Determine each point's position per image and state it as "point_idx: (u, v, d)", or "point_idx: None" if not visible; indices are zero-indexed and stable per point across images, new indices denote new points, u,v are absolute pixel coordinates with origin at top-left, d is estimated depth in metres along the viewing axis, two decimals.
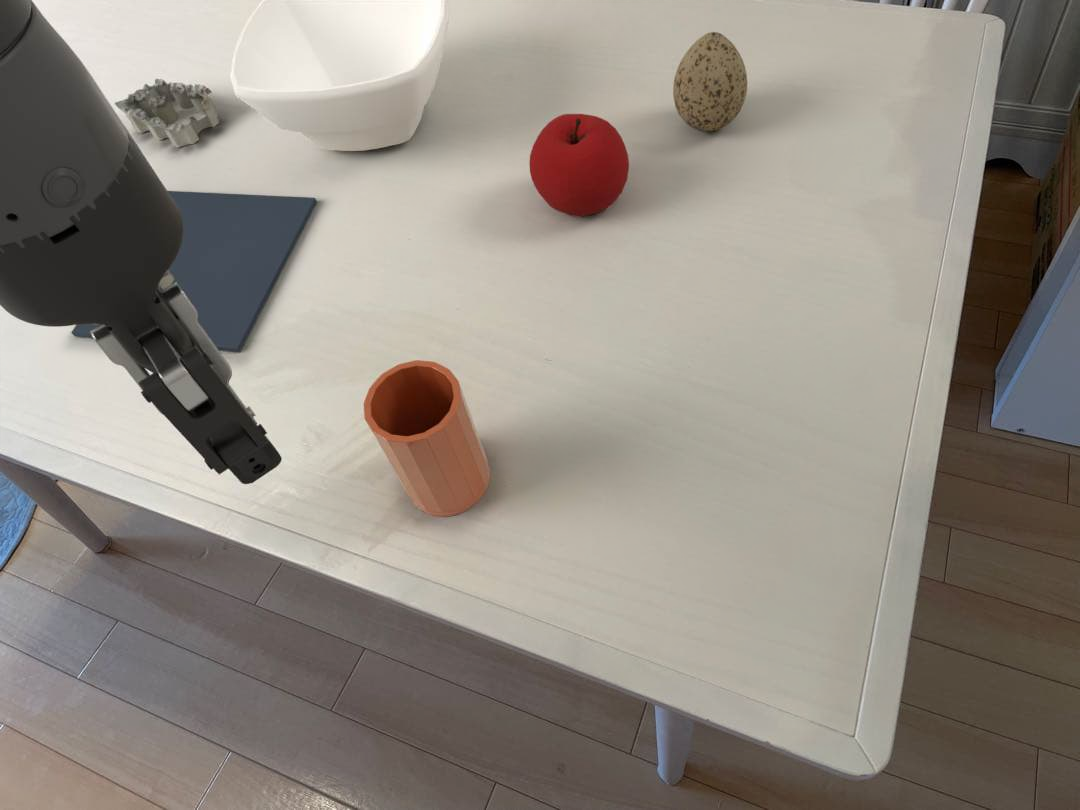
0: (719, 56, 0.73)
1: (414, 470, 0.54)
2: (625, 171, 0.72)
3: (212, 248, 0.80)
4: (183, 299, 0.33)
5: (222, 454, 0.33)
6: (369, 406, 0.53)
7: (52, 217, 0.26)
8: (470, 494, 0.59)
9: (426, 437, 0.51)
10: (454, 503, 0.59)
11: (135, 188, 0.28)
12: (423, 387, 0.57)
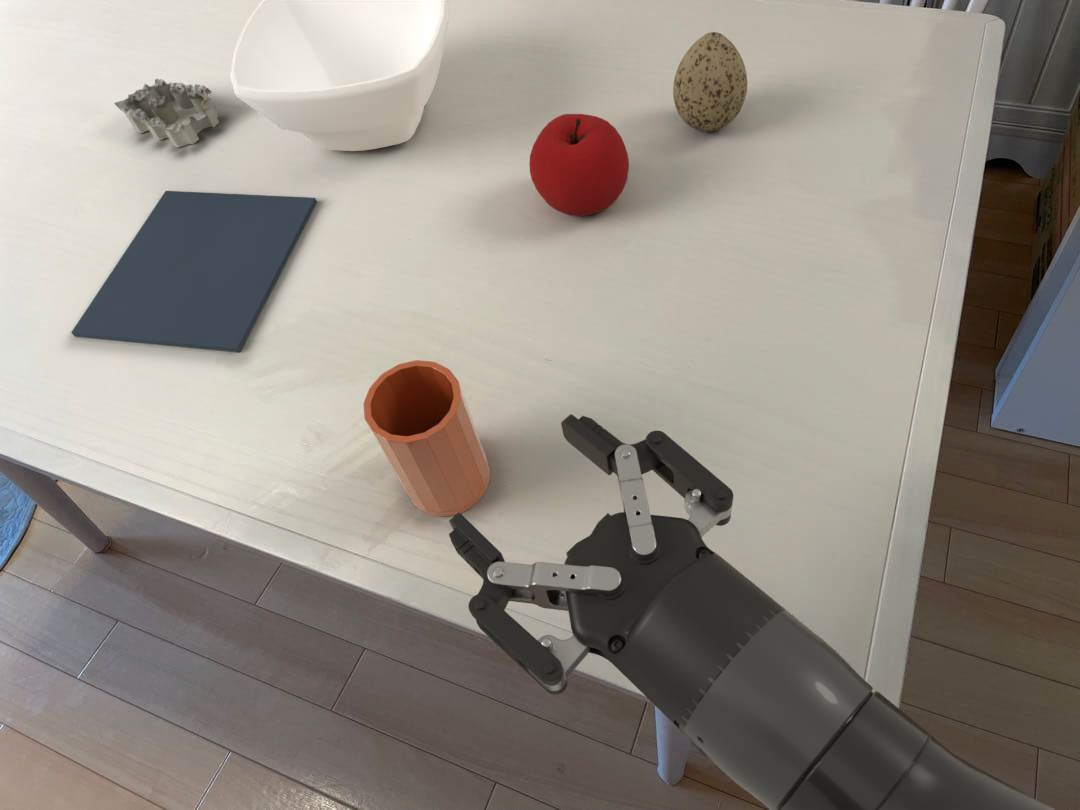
0: (719, 56, 0.73)
1: (414, 470, 0.54)
2: (625, 171, 0.72)
3: (212, 248, 0.80)
4: None
5: None
6: (369, 406, 0.53)
7: (688, 737, 0.36)
8: (470, 494, 0.59)
9: (426, 437, 0.51)
10: (454, 503, 0.59)
11: None
12: (423, 387, 0.57)
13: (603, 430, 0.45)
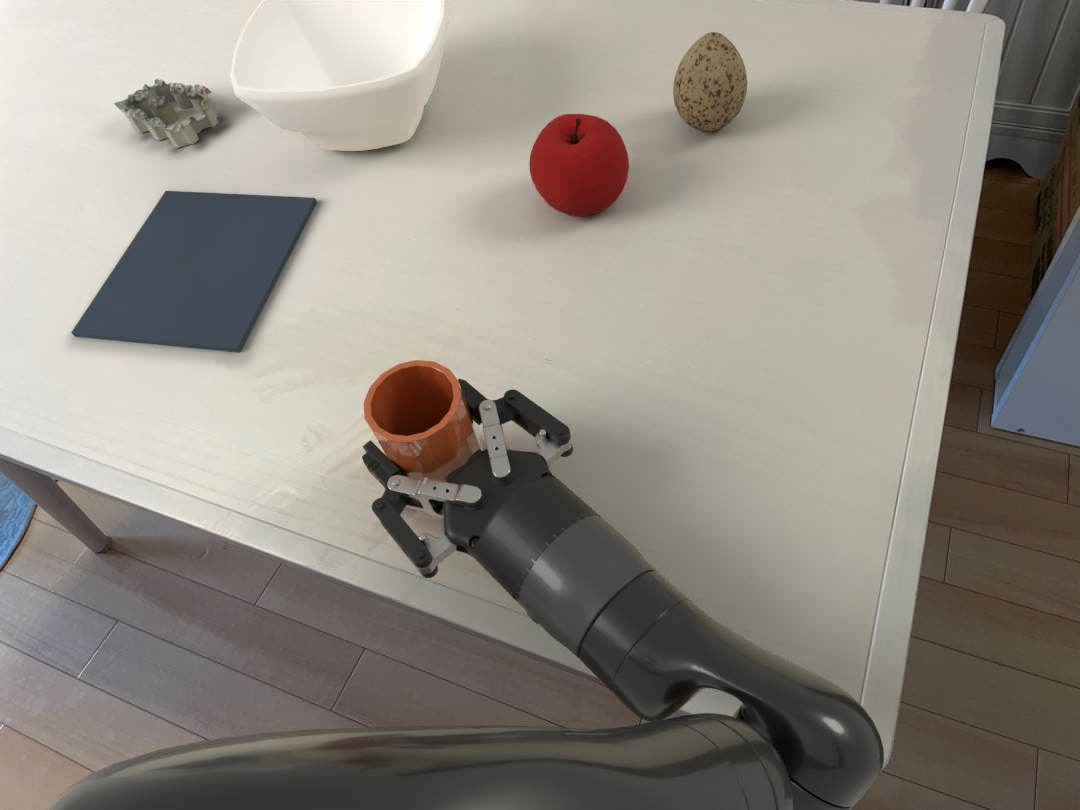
0: (719, 56, 0.73)
1: (414, 470, 0.54)
2: (625, 171, 0.72)
3: (212, 248, 0.80)
4: None
5: None
6: (369, 406, 0.53)
7: (523, 607, 0.49)
8: None
9: (426, 437, 0.51)
10: None
11: None
12: (423, 387, 0.57)
13: (473, 389, 0.57)
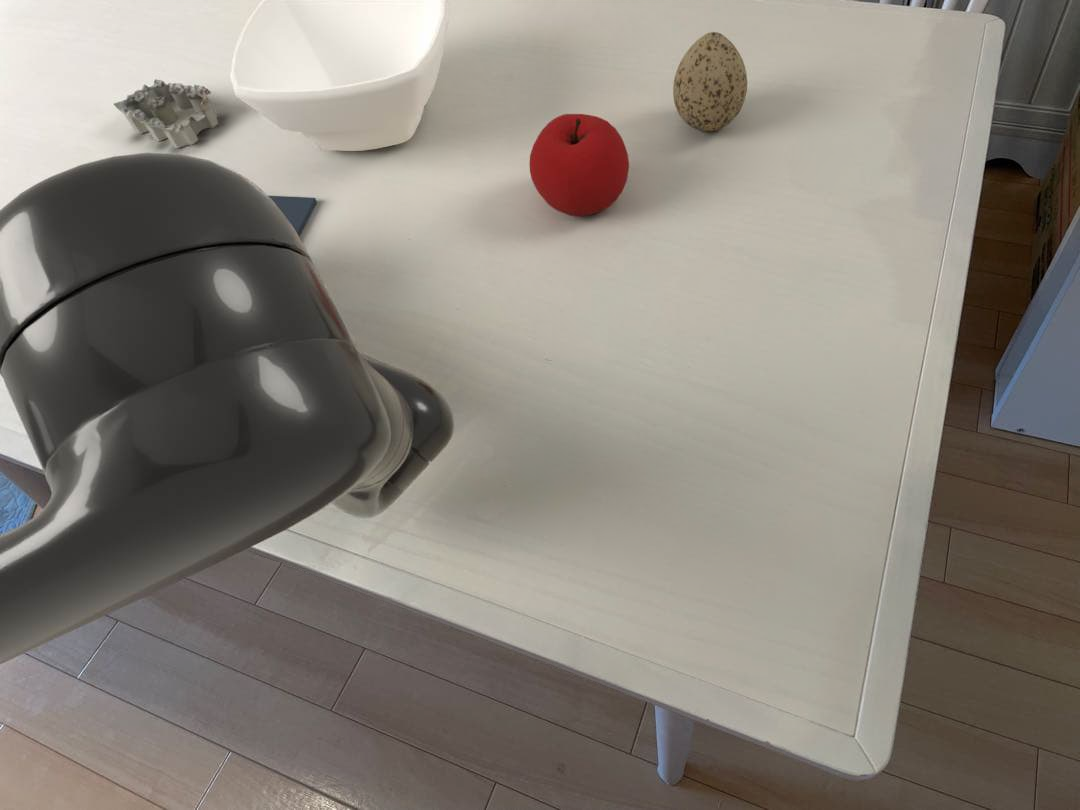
0: (719, 56, 0.73)
1: None
2: (625, 171, 0.72)
3: None
4: None
5: None
6: None
7: None
8: None
9: None
10: None
11: None
12: None
13: None
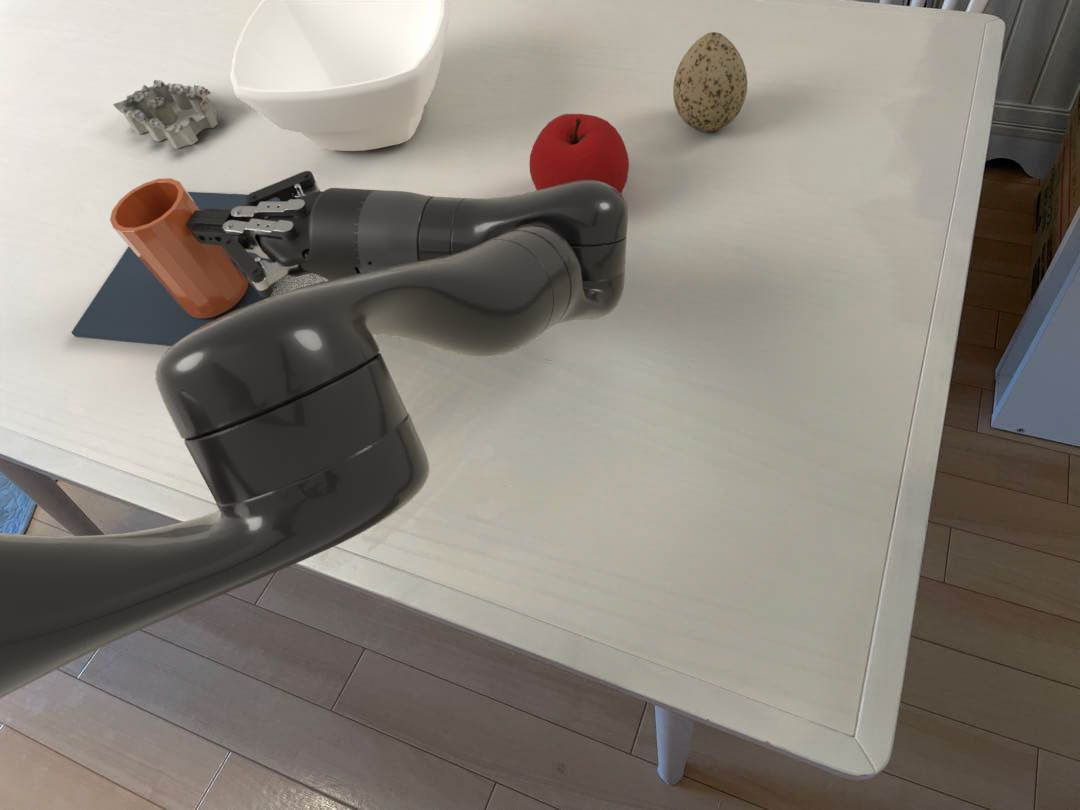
0: (719, 56, 0.73)
1: (156, 264, 0.68)
2: (625, 171, 0.72)
3: None
4: None
5: None
6: (115, 211, 0.67)
7: (366, 272, 0.62)
8: (221, 295, 0.72)
9: (150, 227, 0.65)
10: (207, 302, 0.72)
11: None
12: (172, 205, 0.71)
13: (219, 210, 0.68)
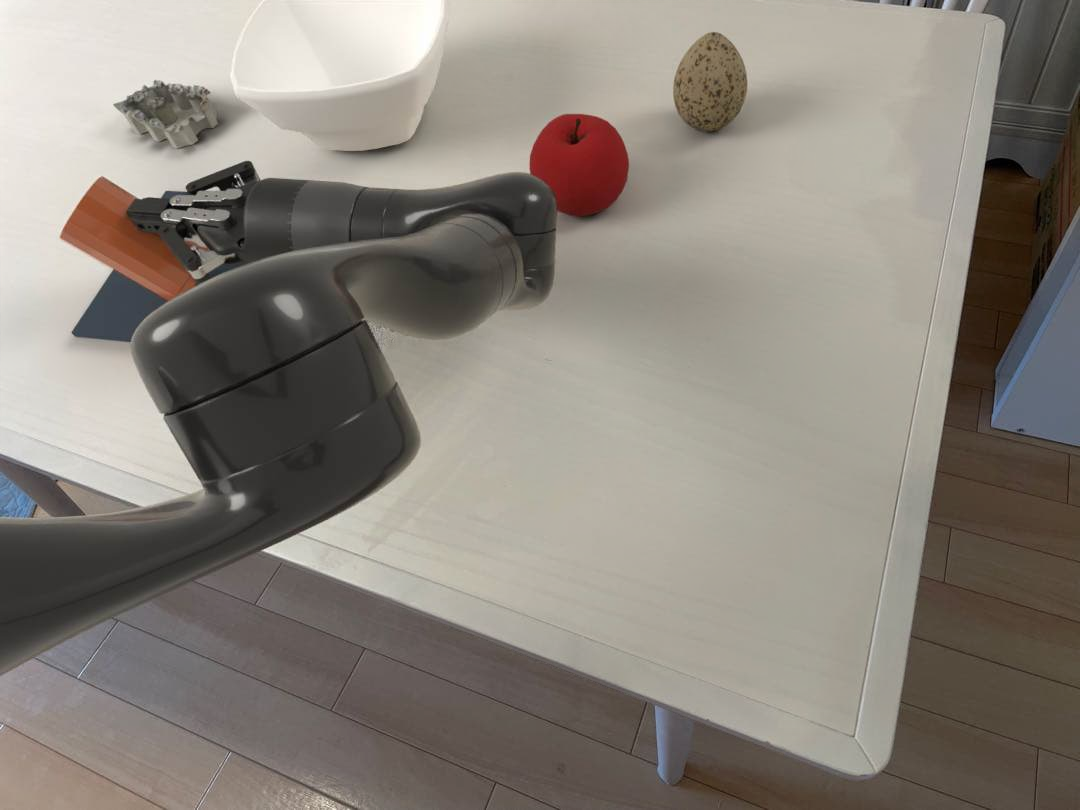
0: (719, 56, 0.73)
1: (104, 258, 0.69)
2: (625, 171, 0.72)
3: None
4: None
5: None
6: None
7: None
8: (179, 269, 0.71)
9: (70, 219, 0.67)
10: (171, 282, 0.71)
11: None
12: None
13: (159, 198, 0.68)
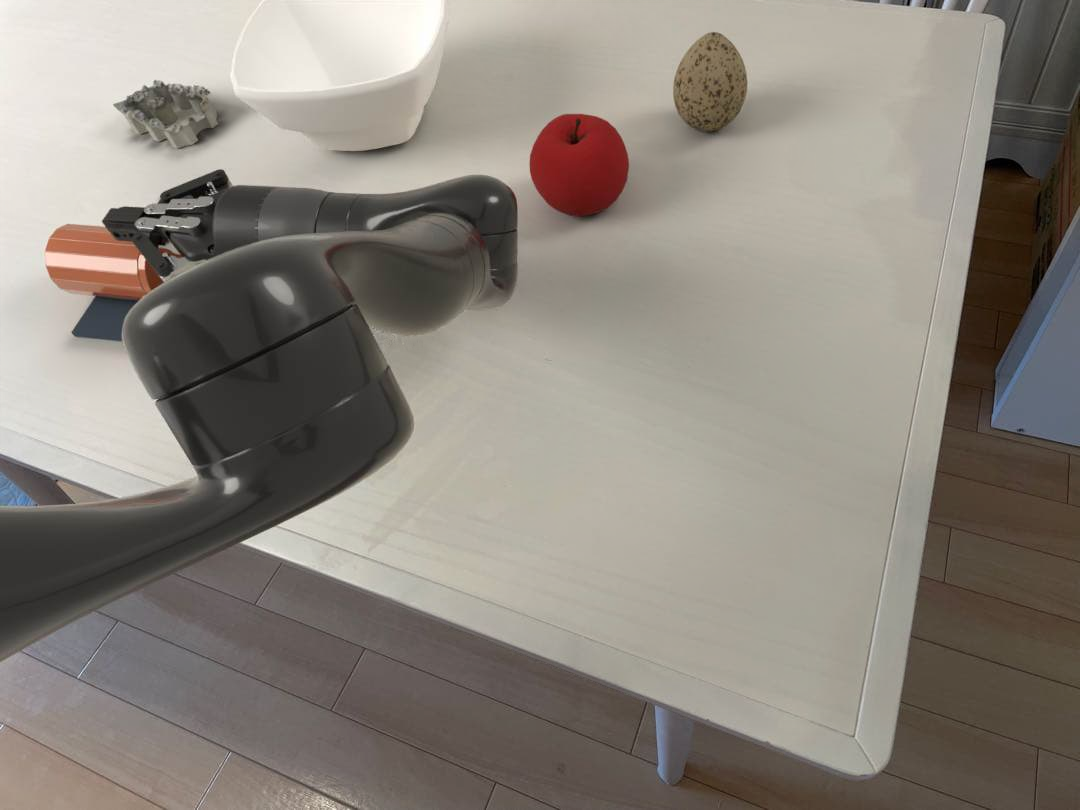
0: (719, 56, 0.73)
1: (87, 285, 0.74)
2: (625, 171, 0.72)
3: None
4: None
5: None
6: None
7: None
8: (128, 260, 0.71)
9: (47, 265, 0.74)
10: (129, 275, 0.72)
11: None
12: None
13: (134, 207, 0.70)
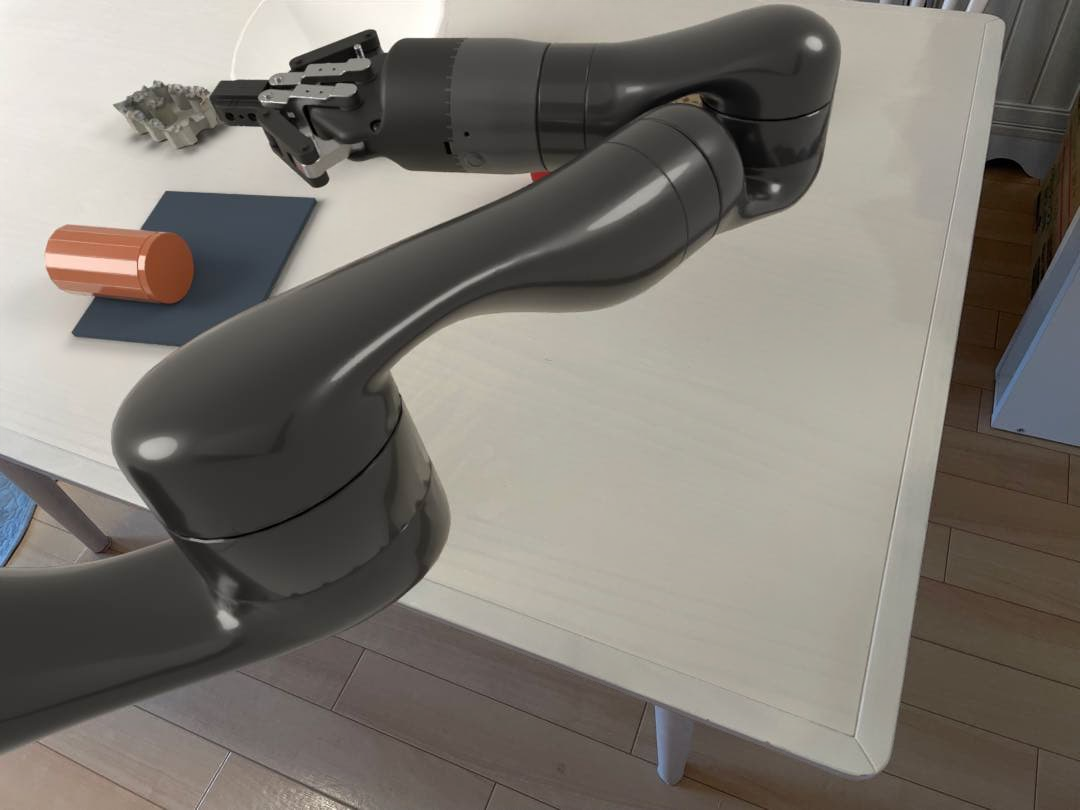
0: None
1: (87, 286, 0.74)
2: None
3: (212, 248, 0.80)
4: None
5: None
6: None
7: (460, 149, 0.45)
8: (127, 261, 0.71)
9: (47, 266, 0.74)
10: (129, 276, 0.72)
11: (455, 172, 0.48)
12: None
13: (253, 80, 0.50)
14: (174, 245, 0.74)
